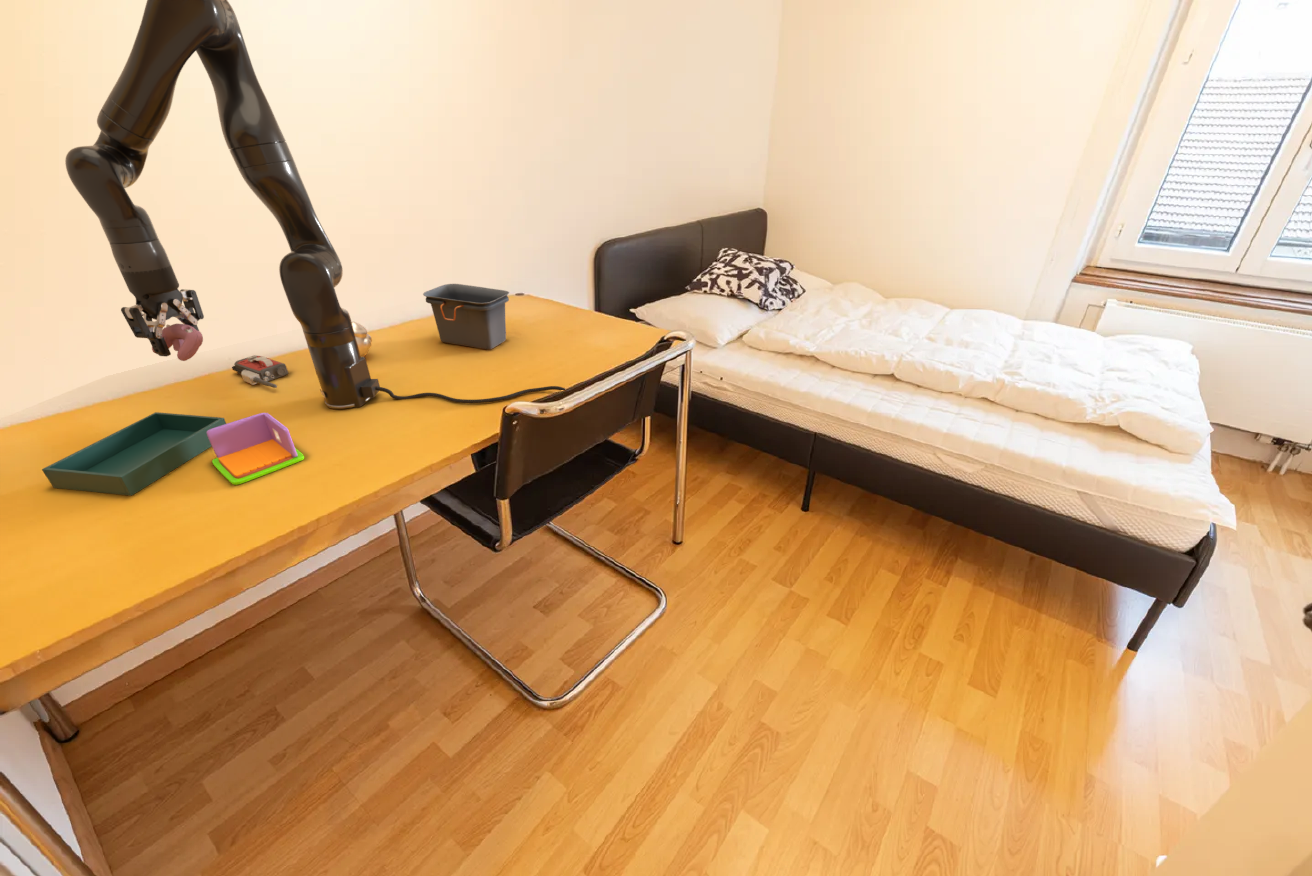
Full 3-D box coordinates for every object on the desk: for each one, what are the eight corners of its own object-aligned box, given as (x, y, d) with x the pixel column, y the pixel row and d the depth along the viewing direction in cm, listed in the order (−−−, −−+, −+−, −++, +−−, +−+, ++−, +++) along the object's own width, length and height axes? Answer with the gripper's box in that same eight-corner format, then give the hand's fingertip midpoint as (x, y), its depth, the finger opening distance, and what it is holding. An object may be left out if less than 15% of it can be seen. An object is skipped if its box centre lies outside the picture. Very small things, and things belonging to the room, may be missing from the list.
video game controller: (205, 363, 113) (209, 329, 113) (179, 361, 109) (183, 325, 108) (175, 355, 117) (179, 322, 116) (149, 352, 112) (153, 318, 112)
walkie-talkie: (224, 375, 137) (272, 393, 129) (217, 359, 135) (266, 376, 126) (261, 364, 144) (309, 380, 135) (255, 347, 141) (303, 363, 133)
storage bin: (519, 339, 162) (514, 289, 154) (489, 357, 149) (481, 305, 142) (457, 330, 167) (449, 282, 160) (423, 347, 155) (412, 296, 148)
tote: (231, 434, 112) (223, 417, 110) (131, 495, 94) (121, 477, 92) (163, 428, 114) (155, 412, 112) (53, 487, 96) (41, 469, 94)
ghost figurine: (358, 367, 142) (347, 329, 137) (328, 362, 145) (317, 325, 140) (383, 355, 150) (374, 319, 145) (355, 350, 152) (345, 314, 147)
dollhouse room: (281, 438, 111) (269, 407, 108) (307, 459, 105) (295, 427, 101) (210, 462, 103) (195, 430, 100) (233, 487, 97) (219, 453, 93)
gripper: (126, 275, 98) (166, 363, 106) (195, 257, 111) (226, 338, 119) (88, 273, 99) (131, 361, 107) (161, 256, 111) (194, 336, 120)
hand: (181, 348), depth 113 cm, fingers closed on video game controller, 6 cm apart
